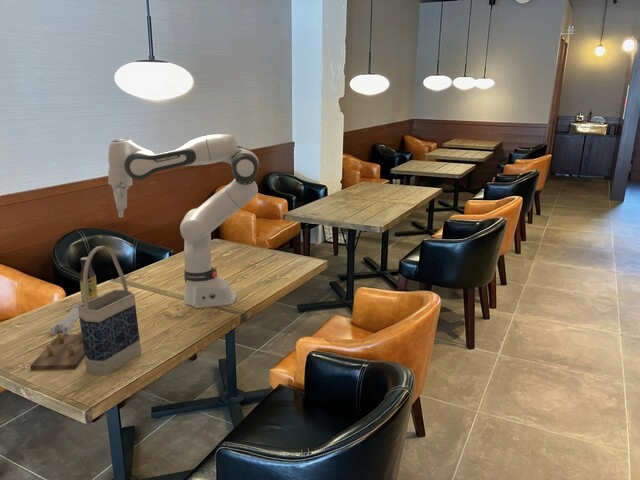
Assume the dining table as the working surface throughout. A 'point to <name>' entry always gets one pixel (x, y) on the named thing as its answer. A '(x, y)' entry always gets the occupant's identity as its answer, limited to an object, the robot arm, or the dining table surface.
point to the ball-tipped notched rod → (66, 322)
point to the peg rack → (61, 353)
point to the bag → (108, 325)
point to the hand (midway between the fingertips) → (120, 213)
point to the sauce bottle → (88, 281)
